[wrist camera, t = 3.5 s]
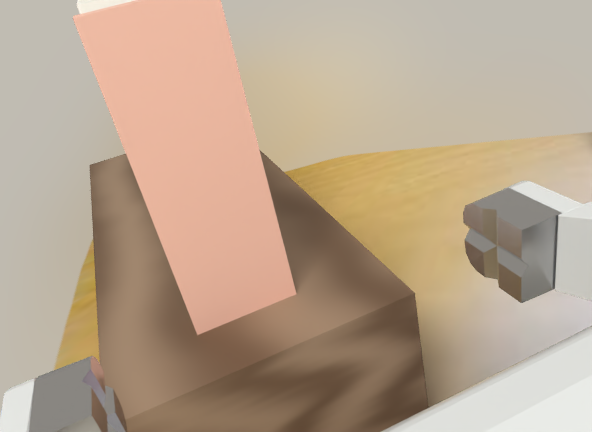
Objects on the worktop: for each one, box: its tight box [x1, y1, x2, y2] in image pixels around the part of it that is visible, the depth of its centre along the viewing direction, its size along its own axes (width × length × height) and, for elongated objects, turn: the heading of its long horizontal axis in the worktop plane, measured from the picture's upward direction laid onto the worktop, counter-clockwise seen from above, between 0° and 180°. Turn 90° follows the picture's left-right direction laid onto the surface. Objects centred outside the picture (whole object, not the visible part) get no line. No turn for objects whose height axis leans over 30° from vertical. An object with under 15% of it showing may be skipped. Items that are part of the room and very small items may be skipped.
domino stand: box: [90, 151, 428, 432], centre depth 38 cm, size 14×34×10 cm, turn 22°
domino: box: [73, 0, 296, 335], centre depth 22 cm, size 5×2×14 cm, turn 112°
